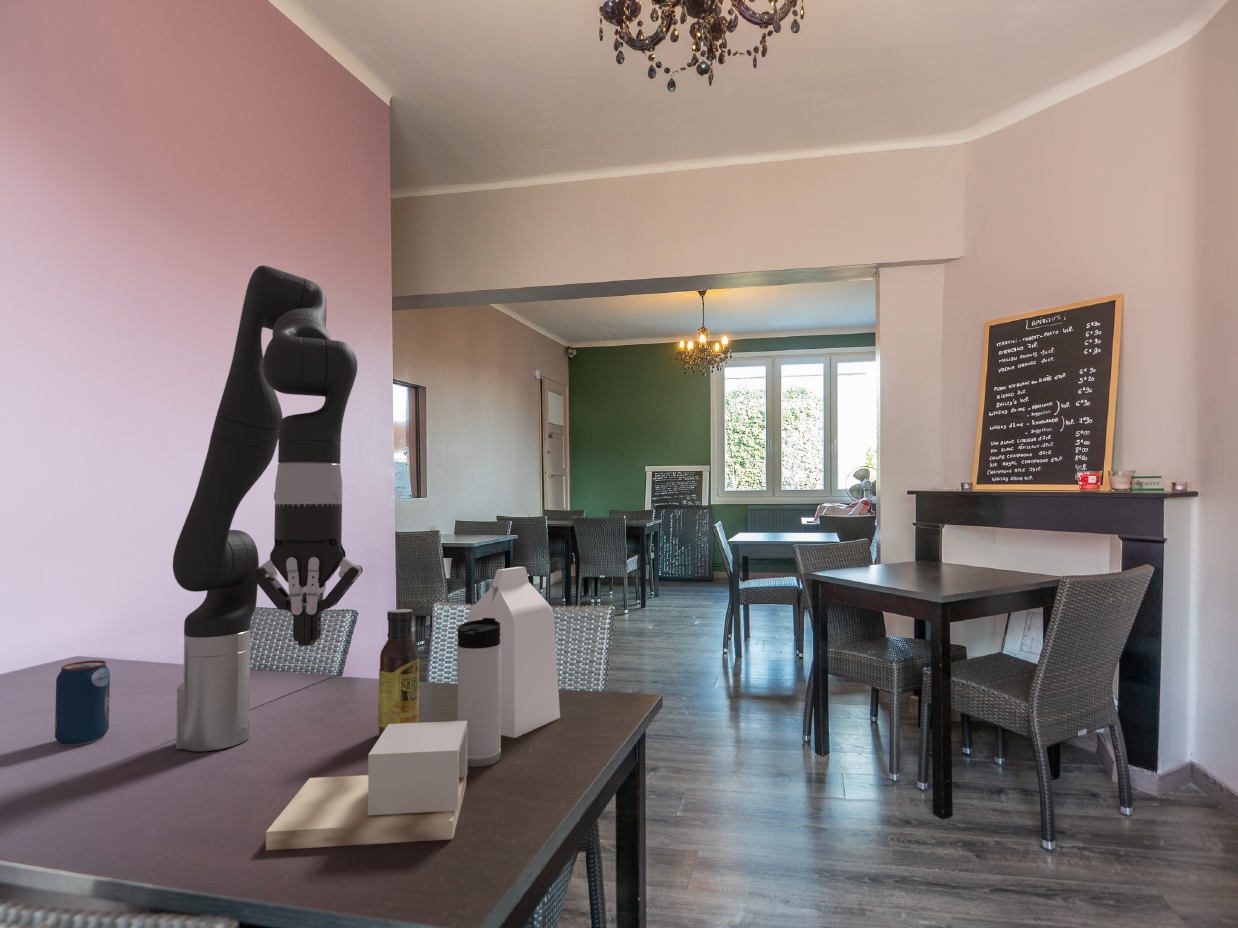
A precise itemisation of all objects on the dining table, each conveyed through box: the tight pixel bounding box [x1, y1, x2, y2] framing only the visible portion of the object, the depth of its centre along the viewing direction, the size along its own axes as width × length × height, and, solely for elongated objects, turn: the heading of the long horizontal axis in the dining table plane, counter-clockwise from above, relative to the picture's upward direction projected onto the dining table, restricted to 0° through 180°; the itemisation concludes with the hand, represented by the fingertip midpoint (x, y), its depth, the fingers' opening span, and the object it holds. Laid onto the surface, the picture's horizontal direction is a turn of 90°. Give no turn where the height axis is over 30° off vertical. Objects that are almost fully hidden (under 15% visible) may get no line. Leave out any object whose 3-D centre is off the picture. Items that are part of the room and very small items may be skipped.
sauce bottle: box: [377, 608, 420, 737], centre depth 117 cm, size 6×6×20 cm
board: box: [265, 774, 467, 851], centre depth 87 cm, size 20×15×6 cm
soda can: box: [54, 659, 111, 747], centre depth 115 cm, size 7×7×12 cm
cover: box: [367, 720, 468, 815], centre depth 88 cm, size 10×11×7 cm
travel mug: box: [456, 618, 502, 768], centre depth 105 cm, size 6×7×20 cm
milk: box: [466, 566, 561, 739], centre depth 123 cm, size 12×12×26 cm
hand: (306, 644), depth 87 cm, fingers closed
